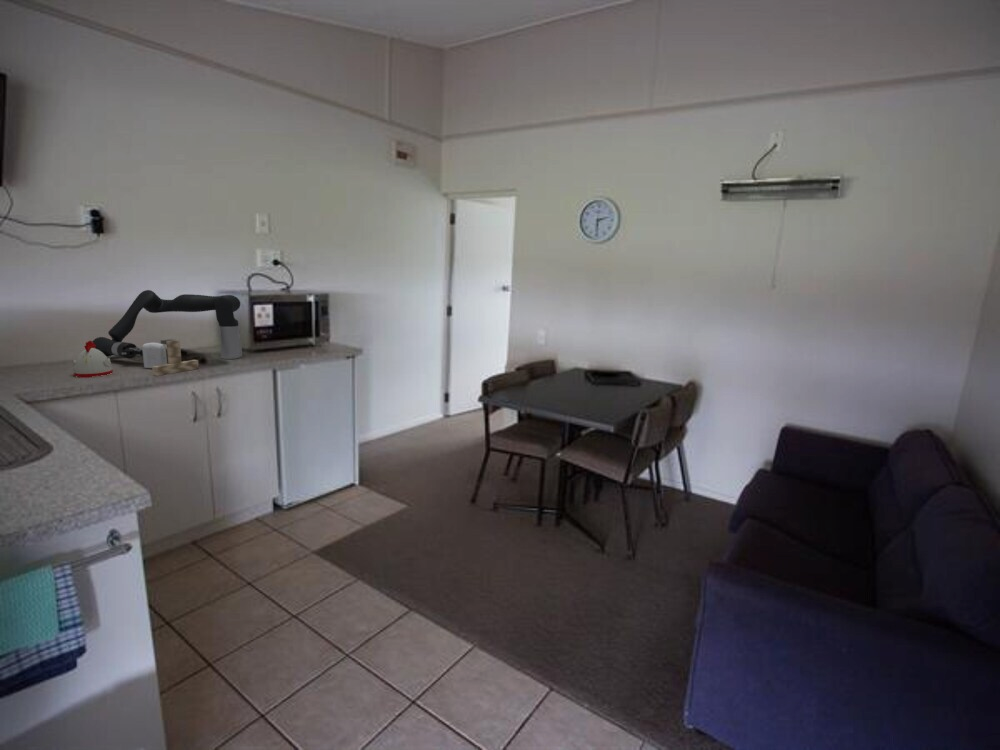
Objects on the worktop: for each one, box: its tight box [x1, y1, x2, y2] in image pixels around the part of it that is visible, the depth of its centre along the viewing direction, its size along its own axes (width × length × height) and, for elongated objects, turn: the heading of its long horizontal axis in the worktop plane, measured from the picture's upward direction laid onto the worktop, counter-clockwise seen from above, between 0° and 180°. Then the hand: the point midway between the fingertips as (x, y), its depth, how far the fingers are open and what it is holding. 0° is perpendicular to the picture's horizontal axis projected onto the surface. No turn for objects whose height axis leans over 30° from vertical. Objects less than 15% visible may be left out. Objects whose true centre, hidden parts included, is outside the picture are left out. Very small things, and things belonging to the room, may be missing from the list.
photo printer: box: [141, 342, 168, 369], centre depth 249 cm, size 10×4×12 cm, turn 84°
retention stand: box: [151, 338, 200, 377], centre depth 244 cm, size 20×7×14 cm, turn 155°
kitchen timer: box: [73, 340, 114, 378], centre depth 233 cm, size 14×14×15 cm
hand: (147, 353), depth 252 cm, fingers closed
